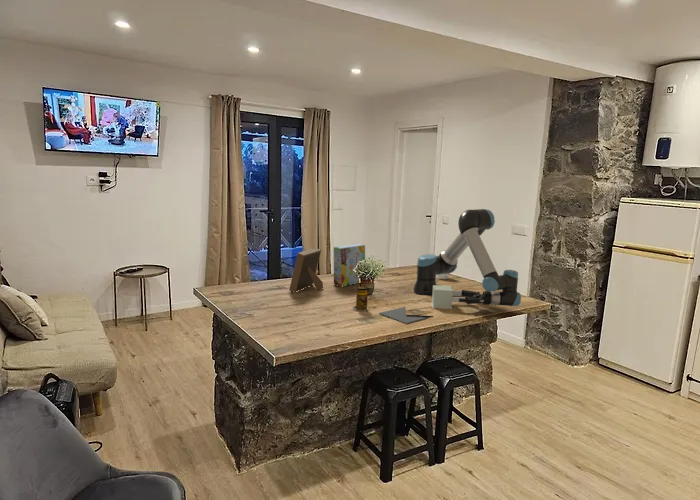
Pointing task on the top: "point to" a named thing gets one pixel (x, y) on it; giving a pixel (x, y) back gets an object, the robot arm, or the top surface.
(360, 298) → the condiment
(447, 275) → the jar
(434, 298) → the pale sage matte cube
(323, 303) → the top surface
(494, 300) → the robot arm
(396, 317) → the rubber mat
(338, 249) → the snack box
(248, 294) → the top surface
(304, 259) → the photo frame
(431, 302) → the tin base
